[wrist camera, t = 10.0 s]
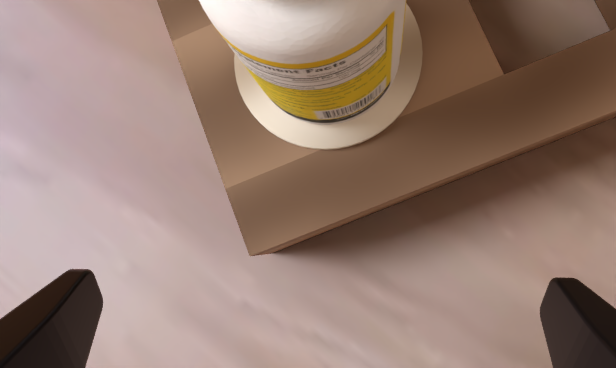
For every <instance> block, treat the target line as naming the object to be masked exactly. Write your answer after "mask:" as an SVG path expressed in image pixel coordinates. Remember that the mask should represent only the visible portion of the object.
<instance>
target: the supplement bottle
mask: <svg viewBox="0 0 616 368" xmlns="http://www.w3.org/2000/svg"><path fill="white" fill-rule="evenodd" d="M199 2H200V4H201V6H202V8H203V9H204V11H205V13H206V14H207V16H208V17H209V19H210V21H211V22H212V24H213V25H214V27H215V28H216V29H217V31H218V32H219V33H220V35H221V36H222V37H223V39H224V40H225V41H226V43H227V44H228V45H229V47H230V48H231V49H232V50H233V52H234V53H235V54H236V56H237V57H238V58H239V60H240V61H241V62H242V64H243V65H244V66H245V67H246V69H247V70H248V71H249V73H250V74H251V75H252V77H253V78H254V79H255V81H256V82H257V83H258V85H259V86H260V87H261V89H262V90H263V91H264V92H265V94H266V95H267V96H268V97H269V98H270V100H271V101H272V102H273V103H274V104H275V105H276V106H277V107H279V108H280V109H281V110H282V111H283V112H285V113H287V114H288V115H290V116H292V117H294V118H296V119H298V120H301V121H304V122H307V123H311V124H318V125H332V124H339V123H343V122H347V121H350V120H353V119H355V118H357V117H359V116H361V115H363V114H365V113H366V112H368V111H369V110H370V109H372V108H373V107H374V106H375V105H377V104H378V103H379V101H380V100H381V99H382V98H383V97H384V96H385V94H386V93H387V92H388V90H389V88H390V87H391V85H392V83H393V81H394V79H395V76H396V73H397V70H398V66H399V61H400V56H401V50H402V41H403V30H404V21H405V11H406V0H199Z"/></svg>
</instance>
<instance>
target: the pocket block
mask: <svg viewBox="0 0 616 368" xmlns="http://www.w3.org/2000/svg"><path fill="white" fill-rule="evenodd" d="M157 2H158V5H159V7H160V10H161V13H162V16H163V18H164V21H165V24H166V27H167V29H168V32H169V35H170V38H171V40H172V43H173V46H174V49H175V51H176V54H177V57H178V60H179V62H180V65H181V68H182V71H183V74H184V76H185V79H186V82H187V85H188V87H189V90H190V93H191V96H192V98H193V101H194V104H195V107H196V109H197V112H198V115H199V118H200V120H201V123H202V126H203V129H204V131H205V134H206V137H207V140H208V142H209V145H210V148H211V151H212V153H213V156H214V159H215V162H216V164H217V167H218V170H219V173H220V175H221V178H222V181H223V184H224V187H225V189H226V192H227V195H228V198H229V200H230V203H231V206H232V209H233V211H234V214H235V217H236V220H237V222H238V225H239V228H240V231H241V233H242V236H243V239H244V242H245V244H246V247H247V250H248V253H249V255H250V256H255V255H263V254H271V253H274V252H276V251H279V250H281V249H284V248H286V247H289V246H291V245H294V244H296V243H299V242H301V241H304V240H306V239H309V238H311V237H314V236H316V235H319V234H322V233H324V232H327V231H329V230H332V229H334V228H337V227H339V226H342V225H344V224H347V223H349V222H352V221H354V220H357V219H359V218H362V217H364V216H367V215H369V214H372V213H374V212H377V211H379V210H382V209H385V208H387V207H390V206H392V205H395V204H397V203H400V202H402V201H405V200H407V199H410V198H412V197H415V196H417V195H420V194H422V193H425V192H427V191H430V190H432V189H435V188H437V187H440V186H442V185H445V184H448V183H450V182H453V181H455V180H458V179H460V178H463V177H465V176H468V175H470V174H473V173H475V172H478V171H480V170H483V169H485V168H488V167H490V166H493V165H495V164H498V163H500V162H503V161H505V160H508V159H510V158H513V157H516V156H518V155H521V154H523V153H526V152H528V151H531V150H533V149H536V148H538V147H541V146H543V145H546V144H548V143H551V142H553V141H556V140H558V139H561V138H563V137H566V136H568V135H571V134H573V133H576V132H579V131H581V130H584V129H586V128H589V127H591V126H594V125H596V124H599V123H601V122H604V121H606V120H609V119H611V118H614V117H616V0H595V2H596V4H597V6H598V8H599V10H600V11H601V13H602V15H603V17H604V19H605V21H606V23H607V25H608V27H609V28H610V30H611V31H608V32H606V33H604V34H601V35H599V36H596V37H594V38H591V39H589V40H587V41H584V42H582V43H579V44H577V45H574V46H572V47H570V48H567V49H565V50H562V51H560V52H557V53H555V54H552V55H550V56H548V57H545V58H543V59H540V60H538V61H535V62H533V63H531V64H528V65H526V66H523V67H521V68H518V69H516V70H514V71H511V72H509V73H506V74H504V73H503V71H502V69H501V67H500V65H499V63H498V61H497V59H496V57H495V55H494V52H493V50H492V48H491V46H490V44H489V42H488V40H487V38H486V36H485V34H484V32H483V30H482V27H481V25H480V23H479V21H478V19H477V17H476V15H475V13H474V11H473V9H472V7H471V5H470V2H469V0H406V11H405V21H404V30H403V41H402V50H401V56H400V61H399V66H398V70H397V73H396V76H395V79H394V81H393V83H392V85H391V87H390V88H389V90H388V92H387V93H386V94H385V96H384V97H383V98H382V99H381V100H380V101H379V103H378V104H377V105H375V106H374V107H373V108H372V109H370V110H369V111H368V112H366V113H365V114H363V115H361V116H359V117H357V118H355V119H353V120H350V121H347V122H343V123H339V124H332V125H318V124H311V123H307V122H304V121H301V120H298V119H296V118H294V117H292V116H290V115H288V114H287V113H285V112H283V111H282V110H281V109H280V108H279V107H277V106H276V105H275V104H274V103H273V102H272V101H271V100H270V98H269V97H268V96H267V95H266V94H265V92H264V91H263V90H262V89H261V87H260V86H259V85H258V83H257V82H256V81H255V79H254V78H253V77H252V75H251V74H250V73H249V71H248V70H247V69H246V67H245V66H244V65H243V64H242V62H241V61H240V60H239V58H238V57H237V56H236V54H235V53H234V52H233V50H232V49H231V48H230V47H229V45H228V44H227V43H226V41H225V40H224V39H223V37H222V36H221V35H220V33H219V32H218V31H217V29H216V28H215V27H214V25H213V24H212V22H211V21H210V19H209V17H208V16H207V14H206V13H205V11H204V9H203V8H202V6H201V4H200V2H199V0H157Z"/></svg>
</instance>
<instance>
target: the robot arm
mask: <svg viewBox="0 0 616 368" xmlns="http://www.w3.org/2000/svg"><path fill="white" fill-rule="evenodd" d="M102 308H103V298H102V294H101V292H100V289H99V286H98V284H97V281H96V278H95V276H94V274H93V272H92V271H91V270H88V269H70V270H68V271H66V272H65V273H63V274H62V275H60V276H59V277H58V278H56V279H55V280H54V281H52V282H51V283H49V284H48V285H47V286H45V287H44V288H42V289H41V290H40V291H38V292H37V293H36V294H34V295H33V296H31V297H30V298H29V299H27V300H26V301H24V302H23V303H22V304H20V305H19V306H18V307H16V308H15V309H13V310H12V311H11V312H9V313H8V314H6V315H5V316H4V317H2V318H1V319H0V368H85V367H86V363H87V360H88V356H89V353H90V349H91V346H92V343H93V339H94V336H95V332H96V329H97V325H98V322H99V319H100V315H101V312H102ZM540 318H541V322H542V326H543V330H544V334H545V338H546V342H547V346H548V349H549V353H550V357H551V361H552V365H553V368H616V309H615V308H614V307H613V306H611V305H610V304H609V303H607V302H606V301H605V300H604V299H602V298H601V297H600V296H598V295H597V294H596V293H595V292H593V291H592V290H591V289H589V288H588V287H587V286H585V285H584V284H583V283H582V282H580V281H579V280H577V279H575V278H553V279H552V280H551V281H550V283H549V285H548V288H547V290H546V293H545V296H544V298H543V301H542V303H541V307H540Z"/></svg>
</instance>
